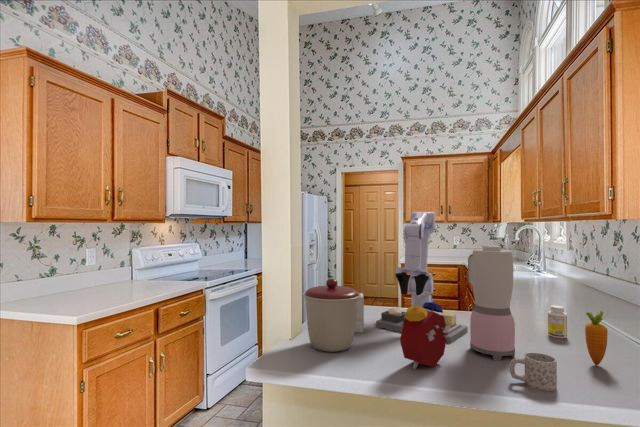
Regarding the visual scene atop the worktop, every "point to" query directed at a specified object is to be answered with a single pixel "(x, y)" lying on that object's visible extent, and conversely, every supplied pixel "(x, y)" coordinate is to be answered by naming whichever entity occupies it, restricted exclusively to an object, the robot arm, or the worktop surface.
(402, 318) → the control panel
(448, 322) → the pale yellow cube
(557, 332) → the supplement bottle
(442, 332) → the alarm clock
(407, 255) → the robot arm
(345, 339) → the canister
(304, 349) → the worktop surface
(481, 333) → the blender
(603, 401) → the worktop surface
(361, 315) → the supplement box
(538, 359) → the mug
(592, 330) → the carrot
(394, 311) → the cream button
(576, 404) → the worktop surface
